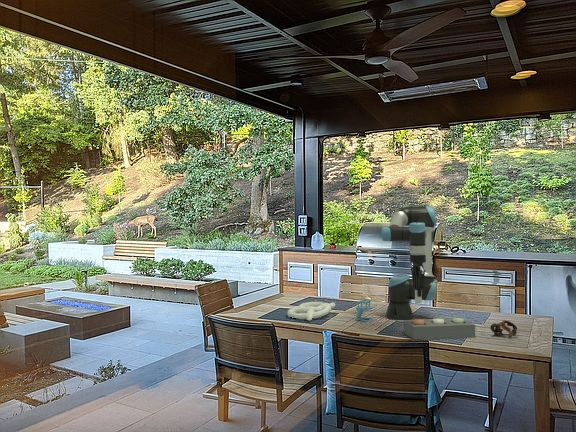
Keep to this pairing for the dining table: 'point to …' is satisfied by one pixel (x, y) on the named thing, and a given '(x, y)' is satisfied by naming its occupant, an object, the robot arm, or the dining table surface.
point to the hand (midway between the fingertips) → (418, 303)
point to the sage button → (458, 320)
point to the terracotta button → (418, 322)
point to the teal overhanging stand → (361, 309)
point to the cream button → (438, 321)
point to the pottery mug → (498, 330)
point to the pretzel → (310, 310)
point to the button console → (439, 330)
